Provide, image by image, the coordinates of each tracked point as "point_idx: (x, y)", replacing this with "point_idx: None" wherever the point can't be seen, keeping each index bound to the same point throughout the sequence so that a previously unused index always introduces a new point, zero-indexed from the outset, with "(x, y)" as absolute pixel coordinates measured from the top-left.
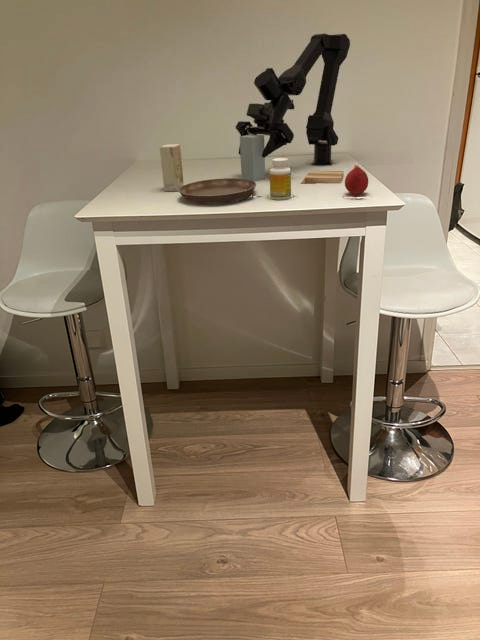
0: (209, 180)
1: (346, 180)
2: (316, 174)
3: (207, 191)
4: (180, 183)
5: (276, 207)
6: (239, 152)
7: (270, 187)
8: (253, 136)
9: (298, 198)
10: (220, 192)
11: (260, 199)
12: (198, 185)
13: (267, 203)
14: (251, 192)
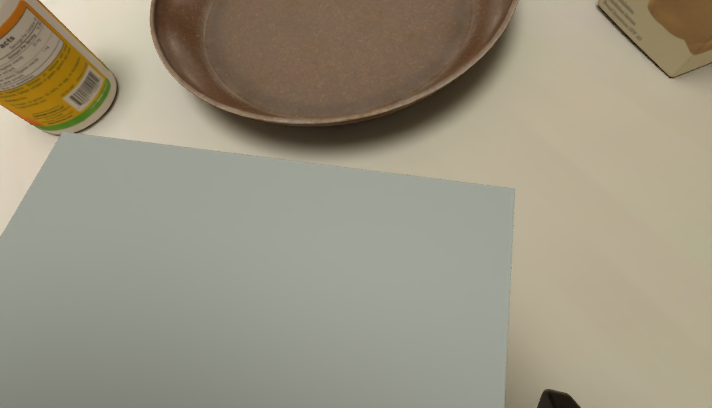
0: (479, 52)
1: None
2: None
3: (436, 40)
4: (643, 8)
5: (68, 4)
6: (551, 393)
7: (76, 37)
8: (71, 293)
9: (6, 120)
10: (359, 47)
11: (151, 53)
12: (498, 14)
13: (109, 25)
14: (180, 36)
